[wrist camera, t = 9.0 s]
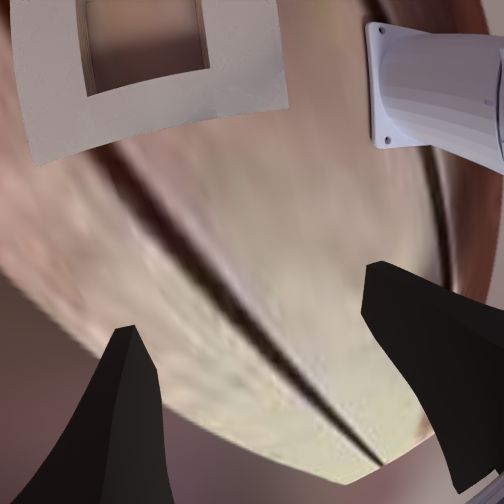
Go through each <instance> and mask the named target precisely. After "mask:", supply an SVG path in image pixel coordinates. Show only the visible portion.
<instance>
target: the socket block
mask: <svg viewBox="0 0 504 504" xmlns="http://www.w3.org/2000/svg"><path fill="white" fill-rule="evenodd" d="M89 1H92V0H10V18H11V37H12V50H13V59H14V68H15V76H16V83H17V89H18V95H19V101H20V106H21V112H22V117H23V121H24V126H25V130H26V135H27V139H28V143H29V147H30V151H31V155H32V159H33V162H34V166H35V168H36V167H39V166H41V165H44V164H47V163H49V162H52V161H55V160H58V159H61V158H63V157H66V156H69V155H72V154H75V153H78V152H81V151H84V150H87V149H91V148H94V147H97V146H100V145H104V144H107V143H111V142H114V141H118V140H121V139H125V138H129V137H132V136H136V135H140V134H144V133H148V132H152V131H157V130H161V129H165V128H170V127H174V126H179V125H184V124H189V123H194V122H199V121H204V120H210V119H215V118H221V117H227V116H234V115H240V114H247V113H254V112H262V111H270V110H279V109H289V106H288V95H287V86H286V76H285V67H284V59H283V50H282V42H281V34H280V26H279V19H278V11H277V4H276V0H195V5H196V13H197V20H198V28H199V35H200V43H201V50H202V57H203V64H204V69H203V70H197V71H191V72H185V73H180V74H174V75H169V76H165V77H160V78H155V79H151V80H147V81H142V82H138V83H134V84H130V85H127V86H123V87H119V88H116V89H112V90H109V91H105V92H102V93H99V94H97V90H96V84H95V78H94V71H93V65H92V58H91V51H90V43H89V35H88V26H87V15H86V4H85V2H89Z"/></svg>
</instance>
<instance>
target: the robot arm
mask: <svg viewBox="0 0 504 504" xmlns="http://www.w3.org/2000/svg"><path fill="white" fill-rule="evenodd" d="M379 28H380V29H381V31H382V33H380V32H379ZM365 32H366V41H367V51H368V62H369V76H370V92H371V116H372V143H373V145H374V146H375V147H377V148H380V149H383V148H394V147H406V146H420V145H432V146H435V147H438V148H440V149H443V150H446V151H448V152H451V153H453V154H456V155H459V156H461V157H464V158H466V159H468V160H471V161H473V162H476V163H478V164H480V165H483V166H485V167H487V168H489V169H492V170H494V171H496V172H498V173H500V174H502V175H504V36H494V35H480V34H432V33H428V32H423V31H419V30H415V29H410V28H406V27H401V26H395V25H390V24H384V23H378V22H369V23H367V24H366V26H365ZM386 137H387V142H386V143H385V138H386ZM361 315H362V317H363V318H364V320H365V322H366V324H367V326H368V328H369V329H370V331H371V333H372V334H373V336H374V338H375V339H376V341H377V342H378V343H379V345H380V346H381V347H382V349H383V350H384V351H385V353H386V354H387V356H388V357H389V358H390V360H391V361H392V362H393V364H394V365H395V366H396V368H397V369H398V370H399V372H400V373H401V374H402V376H403V377H404V378H405V380H406V381H407V382H408V384H409V385H410V387H411V388H412V390H413V391H414V393H415V395H416V396H417V398H418V400H419V402H420V404H421V406H422V407H423V409H424V411H425V413H426V415H427V417H428V419H429V421H430V423H431V425H432V427H433V430H434V432H435V434H436V436H437V439H438V441H439V443H440V446H441V449H442V451H443V454H444V456H445V459H446V462H447V465H448V469H449V471H450V475H451V479H452V482H453V486H454V488H455V489H456V491H457V493H458V494H461V493H462V492H464V491H465V490H467V489H468V488H470V487H471V486H473V485H474V484H476V483H477V482H479V481H480V480H481V479H483V478H484V477H486V476H487V475H488V474H490V473H491V472H492V471H493V470H494V469H496V471H497V472H498V474H499V476H498V477H497V478H496V479H494V480H493V481H492V482H491V483H490V484H489V485H488V486H486V487H485V488H484V489H483V490H482V491H480V492H479V493H478V494H477V495H475V496H474V497H473V498H472V499H470V500H469V501H468V502H466V503H465V504H504V310H500V309H497V308H494V307H491V306H488V305H485V304H482V303H479V302H477V301H474V300H471V299H469V298H467V297H464V296H462V295H459V294H457V293H454V292H452V291H450V290H448V289H445V288H443V287H441V286H439V285H437V284H434V283H432V282H430V281H428V280H426V279H424V278H421V277H419V276H417V275H415V274H413V273H411V272H408V271H406V270H404V269H402V268H400V267H397V266H395V265H393V264H390V263H387V262H385V261H379V262H375V263H372V264H369V265H366V275H365V284H364V292H363V300H362V308H361ZM11 504H175V503H174V500H173V496H172V491H171V487H170V483H169V478H168V474H167V468H166V459H165V447H164V432H163V416H162V399H161V393H160V386H159V380H158V374H157V369H156V367H155V365H154V363H153V361H152V359H151V357H150V355H149V354H148V352H147V350H146V347H145V345H144V343H143V341H142V339H141V337H140V335H139V333H138V331H137V329H136V327H135V325H131V326H126V327H122V328H117V329H115V331H114V332H113V334H112V336H111V338H110V340H109V342H108V345H107V347H106V349H105V351H104V353H103V355H102V357H101V359H100V361H99V364H98V366H97V368H96V370H95V372H94V374H93V376H92V378H91V380H90V382H89V384H88V387H87V389H86V391H85V393H84V395H83V396H82V398H81V400H80V402H79V404H78V406H77V408H76V410H75V412H74V414H73V416H72V418H71V419H70V421H69V423H68V425H67V426H66V428H65V430H64V432H63V433H62V435H61V436H60V438H59V440H58V441H57V443H56V445H55V446H54V448H53V449H52V451H51V452H50V454H49V455H48V456H47V458H46V459H45V461H44V462H43V463H42V465H41V466H40V468H39V469H38V471H37V472H36V474H35V475H34V476H33V477H32V479H31V480H30V481H29V483H28V484H27V485H26V486H25V487H24V489H23V490H22V491H21V493H19V494H18V496H17V497H16V498H15V499H14V500H13V501H12V503H11Z"/></svg>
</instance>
